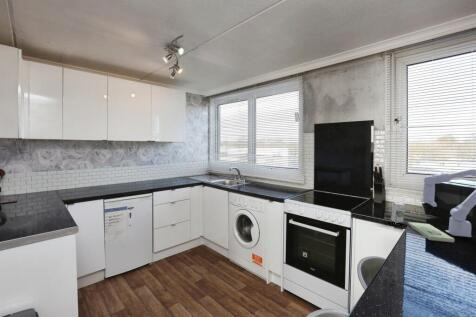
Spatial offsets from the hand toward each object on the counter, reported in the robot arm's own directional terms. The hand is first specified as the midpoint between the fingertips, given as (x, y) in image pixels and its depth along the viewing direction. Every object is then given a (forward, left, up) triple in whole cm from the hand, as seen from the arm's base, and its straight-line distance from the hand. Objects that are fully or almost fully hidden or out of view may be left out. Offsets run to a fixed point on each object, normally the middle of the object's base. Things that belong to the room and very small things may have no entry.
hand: (427, 214), depth 150 cm
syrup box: (+15, -6, -10) cm, 19 cm away
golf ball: (+2, +14, -7) cm, 16 cm away
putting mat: (+3, +9, -9) cm, 13 cm away
